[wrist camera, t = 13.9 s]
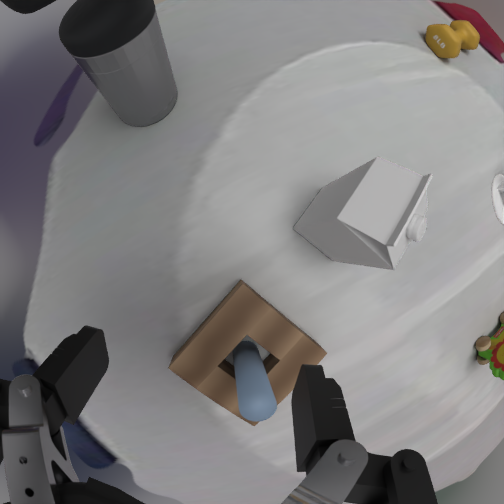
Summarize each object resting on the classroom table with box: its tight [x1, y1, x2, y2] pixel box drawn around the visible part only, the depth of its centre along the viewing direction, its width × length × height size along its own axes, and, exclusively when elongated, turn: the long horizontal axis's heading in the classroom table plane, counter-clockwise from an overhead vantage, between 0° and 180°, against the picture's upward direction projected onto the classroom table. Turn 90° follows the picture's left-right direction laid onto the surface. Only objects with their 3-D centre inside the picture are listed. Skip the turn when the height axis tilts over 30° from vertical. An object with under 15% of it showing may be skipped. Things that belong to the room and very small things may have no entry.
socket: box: [168, 280, 327, 426], centre depth 34 cm, size 14×14×4 cm
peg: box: [233, 341, 277, 422], centre depth 29 cm, size 3×3×14 cm
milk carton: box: [293, 157, 433, 270], centre depth 27 cm, size 7×7×19 cm
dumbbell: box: [426, 20, 480, 58], centre depth 35 cm, size 19×9×8 cm, turn 126°
